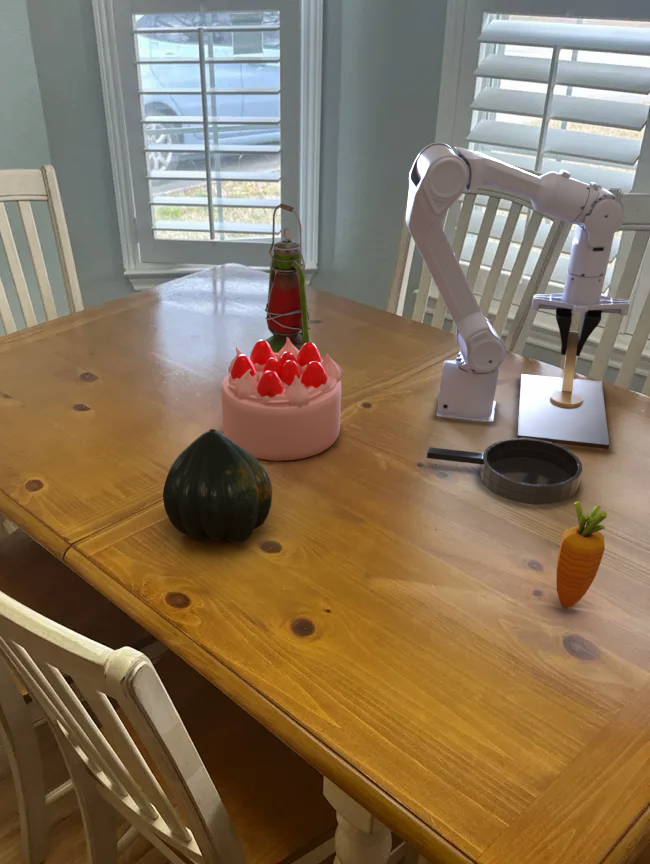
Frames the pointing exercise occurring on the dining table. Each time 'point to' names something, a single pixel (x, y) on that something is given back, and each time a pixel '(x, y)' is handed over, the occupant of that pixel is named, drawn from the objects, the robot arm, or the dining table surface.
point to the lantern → (287, 292)
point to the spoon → (568, 378)
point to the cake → (282, 401)
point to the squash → (217, 490)
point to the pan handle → (455, 455)
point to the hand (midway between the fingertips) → (569, 353)
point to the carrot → (579, 556)
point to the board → (562, 413)
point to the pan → (530, 470)
